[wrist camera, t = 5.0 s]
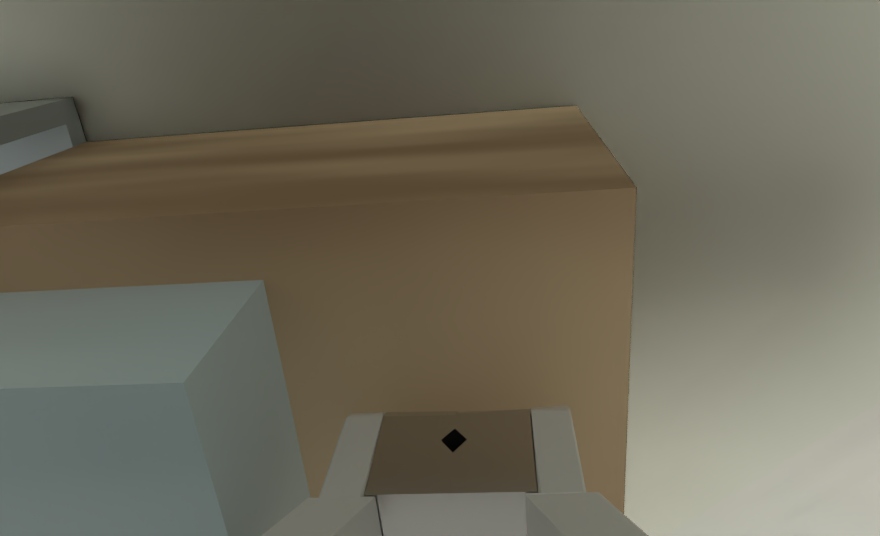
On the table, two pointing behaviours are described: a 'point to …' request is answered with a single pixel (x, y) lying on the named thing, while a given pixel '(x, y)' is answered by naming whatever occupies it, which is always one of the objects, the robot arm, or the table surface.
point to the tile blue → (144, 413)
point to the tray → (37, 130)
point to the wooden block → (372, 259)
